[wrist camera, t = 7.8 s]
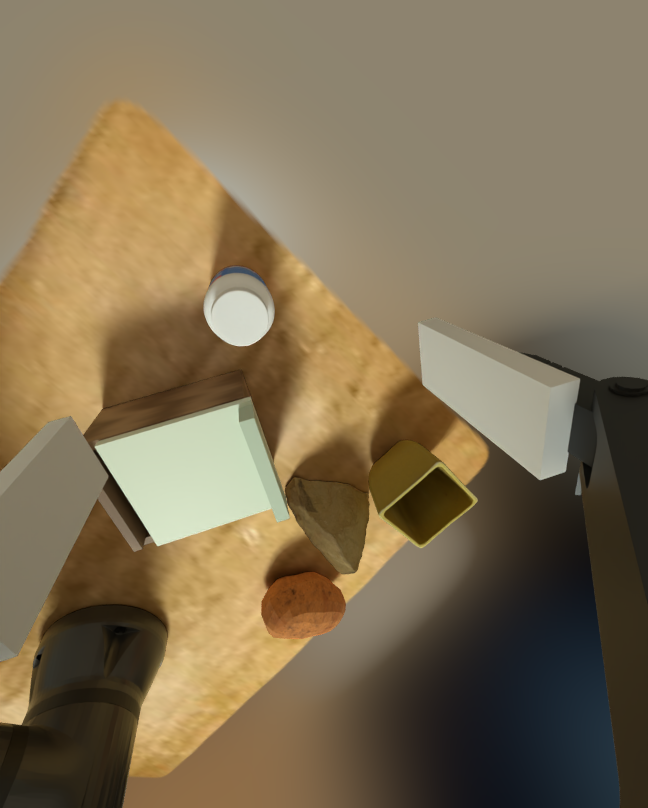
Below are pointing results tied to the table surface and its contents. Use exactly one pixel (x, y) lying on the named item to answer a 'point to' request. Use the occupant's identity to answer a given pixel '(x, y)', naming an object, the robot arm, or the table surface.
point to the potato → (302, 606)
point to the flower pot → (417, 492)
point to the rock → (331, 519)
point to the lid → (196, 471)
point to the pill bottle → (238, 306)
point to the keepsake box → (150, 414)
